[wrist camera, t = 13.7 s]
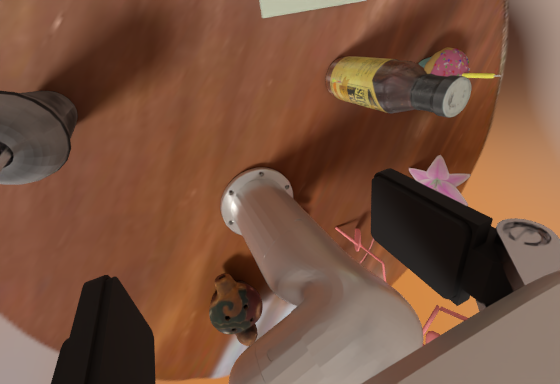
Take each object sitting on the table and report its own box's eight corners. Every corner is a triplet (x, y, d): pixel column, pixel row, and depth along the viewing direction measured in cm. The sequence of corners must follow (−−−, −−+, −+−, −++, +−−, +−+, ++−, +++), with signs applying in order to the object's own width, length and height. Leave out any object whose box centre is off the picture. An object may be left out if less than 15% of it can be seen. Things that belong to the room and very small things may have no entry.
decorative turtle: (225, 327, 58) (232, 362, 51) (190, 278, 50) (192, 312, 43) (267, 303, 59) (279, 335, 52) (239, 253, 52) (249, 282, 45)
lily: (421, 137, 58) (438, 161, 51) (468, 157, 60) (491, 183, 52) (388, 181, 65) (398, 207, 58) (431, 197, 67) (446, 225, 59)
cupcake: (441, 40, 48) (516, 38, 39) (440, 88, 53) (507, 97, 43) (402, 58, 47) (470, 61, 37) (404, 106, 52) (465, 120, 42)
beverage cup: (11, 67, 29) (-164, 92, 12) (95, 89, 32) (44, 131, 16) (9, 135, 31) (-141, 232, 15) (88, 149, 35) (37, 239, 18)
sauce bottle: (316, 88, 43) (419, 112, 27) (336, 47, 42) (457, 48, 25) (346, 105, 47) (453, 137, 30) (364, 68, 45) (488, 81, 29)
